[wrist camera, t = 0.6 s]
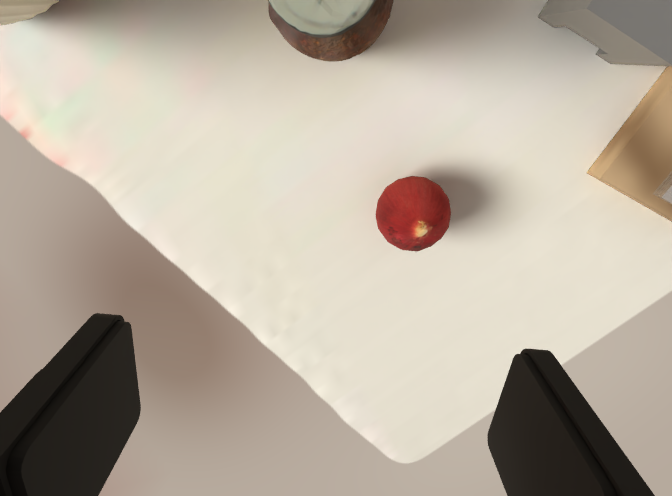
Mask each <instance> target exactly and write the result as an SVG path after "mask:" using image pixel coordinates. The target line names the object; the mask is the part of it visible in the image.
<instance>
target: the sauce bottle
mask: <svg viewBox="0 0 672 496" xmlns="http://www.w3.org/2000/svg"><path fill="white" fill-rule="evenodd" d="M268 1H269V15H270V18H271V20H272V22H273V23H274V24H275V26H276V27H277V28H278V30H279V31H280V33H281V34H282V35H283V37H284V39H286V40H287V42H288V43H289V44H290V45H291V46H292V47H294V48H295V49H297V50H298V51H300V52H301V53H303V54H305V55H307V56H309V57H312V58H315V59H319V60H323V61H343V60H346V59H350V58H352V57H354V56H356V55H359V54H361V53H362V52H364V51H365V50H366V49H368V48H369V47H370V46H371V45H372V44H373V43H374V42H375V41H376V40H377V38H378V37H379V36H380V34H381V33H382V31H383V29H384V27H385V25H386V23H387V21H388V19H389V17H390V13H391V9H392V4H393V0H268Z"/></svg>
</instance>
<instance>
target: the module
mask: <svg viewBox="0 0 672 496" xmlns="http://www.w3.org/2000/svg"><path fill="white" fill-rule="evenodd" d="M538 18H540V19H542V20H543V21H545V22H546V23H548V24H549V25H551V26H552V27H562V26H566V27H567V28H569V29H570V30H572V31H573V32H575V33H577V34H578V35H580V36H581V37H583V38H584V39H586V40H587V41H589V42H591V43H592V44H594V45H595V46H597V47H598V48H600V49H599V50H598V52H597V53H596V55H598V56H599V57H601V58H602V59H604V60H605V61H607V62H609V63H610V64H625V65H652V66H672V0H548V2H547V3H546V5H545V6H544V8H543V10H542V11H541V13H540V14H539V16H538Z"/></svg>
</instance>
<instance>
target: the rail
mask: <svg viewBox="0 0 672 496" xmlns="http://www.w3.org/2000/svg"><path fill="white" fill-rule="evenodd" d="M653 194H654V195H655V196H657V197H659V198H660V199H662V200H664V201H666V202H667V203H670V204H672V171H671V173H670V174H669V175H668V176H667V177H666V178H665V180H664V181H663V182H662V183H661V184H660V186H659V187H658V188H657V189H656V190H655V192H654V193H653Z"/></svg>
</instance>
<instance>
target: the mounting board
mask: <svg viewBox="0 0 672 496" xmlns="http://www.w3.org/2000/svg"><path fill="white" fill-rule="evenodd" d="M671 171H672V66H668V67H667V68H666V69H665V71H664V72H663V73H662V74H661V76H660V77H659V78H658V80H657V81H656V82H655V84H654V85H653V86H652V88H651V89H650V90H649V92H648V93H647V94H646V95H645V97H644V98H643V99H642V101H641V102H640V103H639V105H638V106H637V107H636V109H635V110H634V111H633V113H632V114H631V115H630V116H629V118H628V119H627V120H626V122H625V123H624V124H623V126H622V127H621V128H620V130H619V131H618V132H617V134H616V135H615V136H614V137H613V139H612V140H611V141H610V143H609V144H608V145H607V147H606V148H605V149H604V151H603V152H602V153H601V155H600V156H599V157H598V158H597V160H596V161H595V162H594V164H593V165H592V166H591V168H590V169H589V170H588V172H587V173H588V174H589V175H591V176H593V177H595V178H596V179H598V180H600V181H602V182H603V183H605V184H607V185H609V186H610V187H612V188H614V189H616V190H617V191H619V192H621V193H623V194H624V195H626V196H628V197H630V198H631V199H633V200H635V201H637V202H638V203H640V204H642V205H644V206H645V207H647V208H649V209H651V210H653V211H654V212H656V213H658V214H660V215H661V216H663V217H665V218H667V219H668V220H670V221H672V204H670V203H667V202H666V201H664V200H662V199H660V198H659V197H657V196H655V195H654V194H653V193H654V192H655V190H656V189H657V188H658V187H659V186H660V184H661V183H662V182H663V181H664V180H665V178H666V177H667V176H668V175H669V174H670V173H671Z"/></svg>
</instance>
